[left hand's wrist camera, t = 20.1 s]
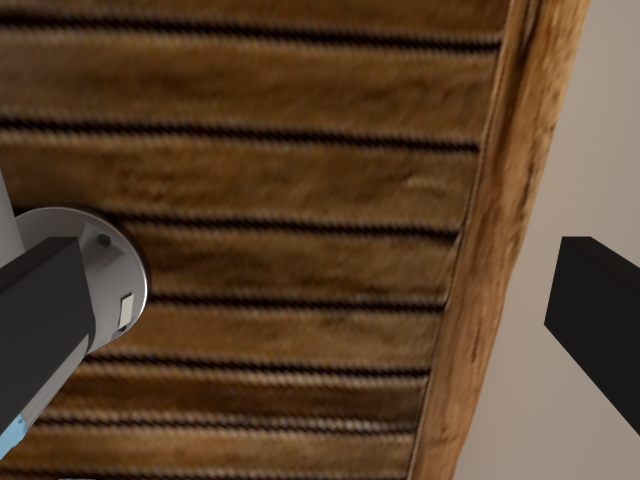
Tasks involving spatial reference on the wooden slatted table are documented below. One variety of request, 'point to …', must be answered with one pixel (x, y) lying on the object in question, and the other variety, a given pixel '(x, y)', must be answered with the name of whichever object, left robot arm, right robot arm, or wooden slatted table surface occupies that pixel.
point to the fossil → (76, 479)
